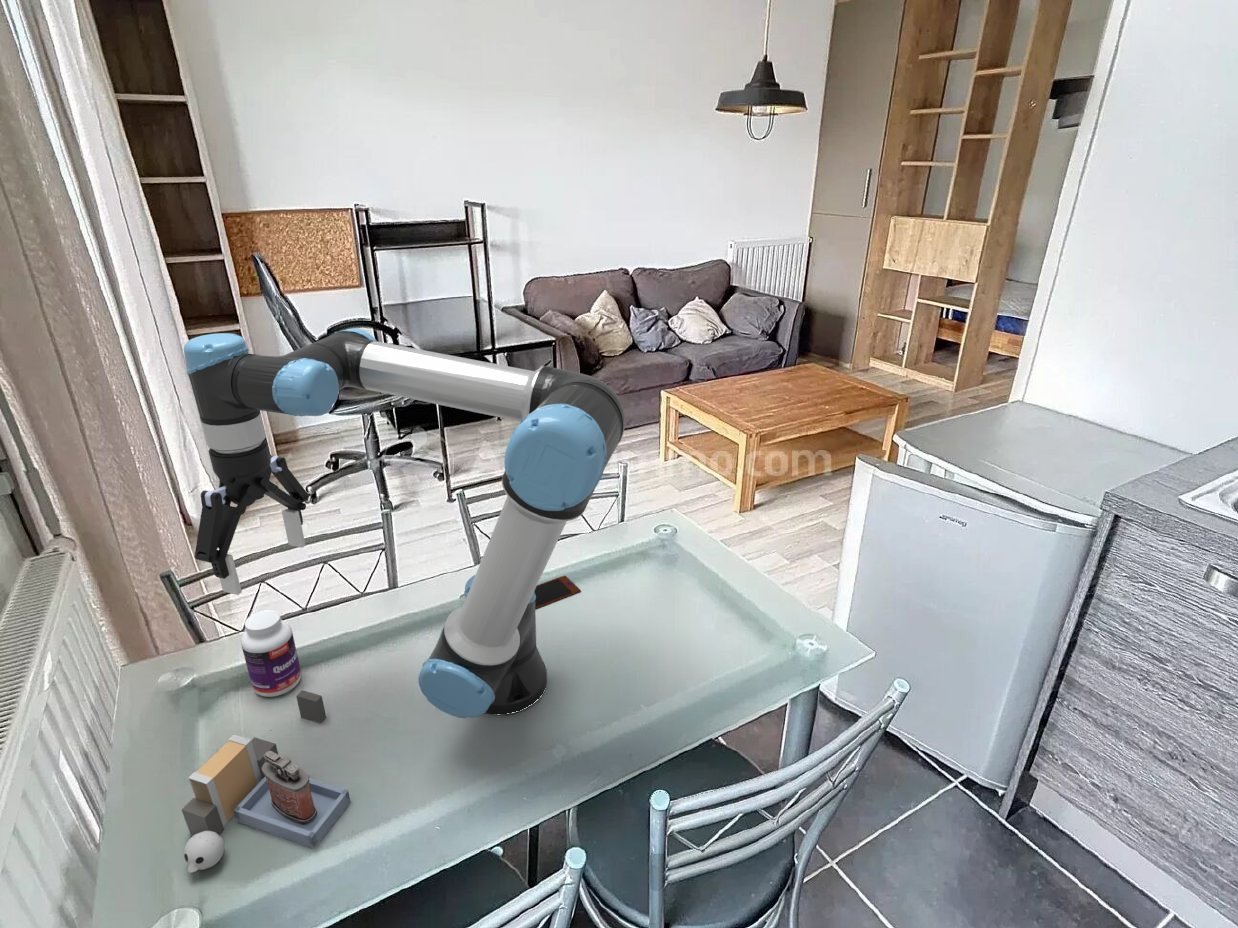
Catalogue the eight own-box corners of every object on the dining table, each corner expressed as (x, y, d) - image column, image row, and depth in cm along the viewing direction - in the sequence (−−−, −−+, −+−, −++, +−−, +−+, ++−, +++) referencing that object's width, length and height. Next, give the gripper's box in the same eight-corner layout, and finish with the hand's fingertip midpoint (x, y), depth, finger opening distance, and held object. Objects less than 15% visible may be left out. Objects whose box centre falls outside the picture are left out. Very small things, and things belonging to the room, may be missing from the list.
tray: (350, 801, 102) (348, 790, 101) (314, 848, 95) (311, 837, 94) (276, 777, 105) (273, 766, 104) (237, 821, 98) (233, 810, 97)
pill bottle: (283, 703, 119) (267, 638, 113) (243, 695, 120) (225, 631, 114) (311, 671, 126) (298, 608, 120) (273, 664, 127) (257, 602, 121)
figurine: (177, 877, 91) (167, 853, 89) (203, 843, 95) (195, 819, 93) (210, 884, 90) (201, 860, 88) (235, 849, 95) (227, 825, 92)
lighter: (323, 811, 100) (311, 762, 95) (303, 829, 97) (291, 780, 93) (285, 788, 103) (272, 740, 99) (265, 805, 100) (251, 757, 96)
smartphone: (581, 589, 150) (521, 613, 142) (581, 593, 151) (521, 616, 143) (565, 574, 156) (505, 595, 148) (565, 577, 156) (506, 599, 148)
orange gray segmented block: (326, 717, 116) (317, 676, 112) (212, 841, 96) (197, 796, 92) (306, 711, 117) (297, 670, 113) (190, 833, 97) (173, 788, 93)
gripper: (279, 410, 109) (302, 524, 118) (138, 475, 87) (179, 609, 97) (318, 416, 107) (338, 532, 116) (184, 485, 86) (222, 620, 95)
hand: (266, 567), depth 106 cm, fingers open, 13 cm apart
